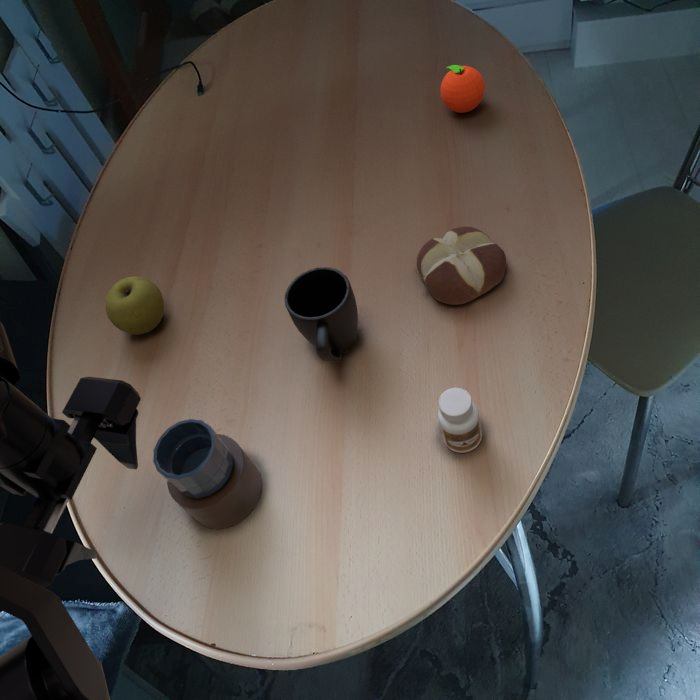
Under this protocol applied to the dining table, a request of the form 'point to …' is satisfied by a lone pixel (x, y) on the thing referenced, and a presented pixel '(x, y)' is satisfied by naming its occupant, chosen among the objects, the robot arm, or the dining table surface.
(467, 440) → the pill bottle
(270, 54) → the dining table surface
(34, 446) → the robot arm
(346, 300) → the mug
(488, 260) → the bread
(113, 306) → the apple
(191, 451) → the blue cup
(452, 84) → the clementine
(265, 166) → the dining table surface
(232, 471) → the stand
